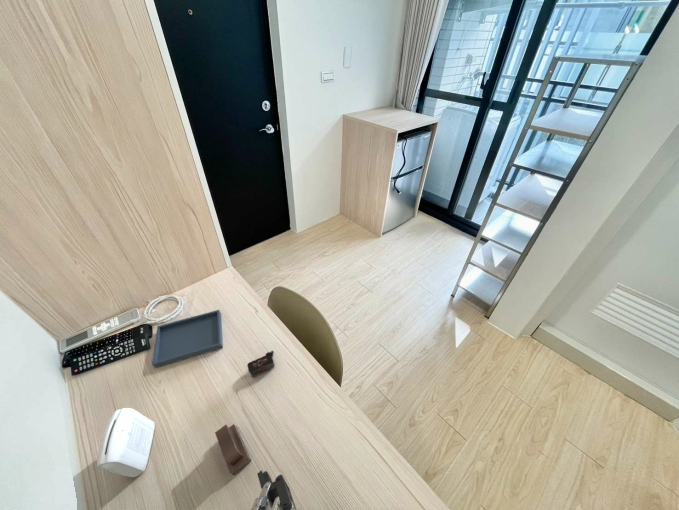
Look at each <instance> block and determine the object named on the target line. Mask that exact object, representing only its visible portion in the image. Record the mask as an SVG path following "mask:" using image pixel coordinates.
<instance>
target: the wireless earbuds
mask: <svg viewBox="0 0 679 510" xmlns="http://www.w3.org/2000/svg"><path fill="white" fill-rule="evenodd" d="M274 353H275V352H274V350H270V351H267V352H266V353H265V355H263V356H261V357H259V358H257V359H254V360H252V361H250V362H248V363H247V365H246V366H247V370H248V373H249V374H250V376H251V377H253V378H254V377H256V376H258V375H261V374H263V373H265V372H267V371H269V370H272V369H274V368H275V366H276V365H275V362H274V359H273V356H274Z"/></svg>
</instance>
